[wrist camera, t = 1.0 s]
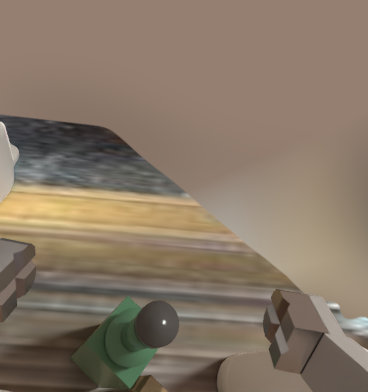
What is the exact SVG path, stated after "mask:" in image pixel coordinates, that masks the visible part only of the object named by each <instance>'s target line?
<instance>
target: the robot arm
mask: <svg viewBox="0 0 368 392" xmlns="http://www.w3.org/2000/svg"><path fill="white" fill-rule="evenodd" d="M18 158H19V151H18V149H17V148H16V147H15V146H13V145H12V144H10V143H9V139H8V136H7V132H6V128H5V126H4V124H3V123H2V122H0V202H1V201H2V200H3V199H4V198H5V197H6V196H7V195H8V194H9V192H10V190H11V188H12V186H13V182H14V165H15V164H16V162H17V160H18ZM34 256H35V246H34V245H32V244H29V243H24V242H19V241H14V240H10V239H5V238H0V322H4V321H5V320H6V318H7V317H8V316H9V315H10V313H11V312H12V311H13V310H14V308H15V307H16V306H17V298H20V297H22V296H24V295H26V293H27V292H28V291H29V289H30V288H31V286H32V284H33V282H34V279H35V274H36V265H35V264H34V263H33V262H32V260H31V259H32V258H33V257H34ZM271 299H272V303H273V304H272V305H270V306H268V307H267V308H266V311H265V314H264V320H263V328H264V333H265V337H266V338H267V339H268V340H269V341H270V342H271V345H270V347H269V352H270V356H271V359H272V363H273V367H274V369H276V370H281V371H286V372H291V373H296V374H301V377H302V378H303V380H304V381H305V382H306V384H307V385H308V386H309V388H310V389H311V390H312V391H313V392H368V352H367V351H366V350H365V349H364V348H362V347H361V346H360V345H359V344H357V343H356V342H355V341H354V340H353V339H351V338H348V337H346V336H345V335H344V333H343V331H342V329H341V328H340V326H339V324H338V323H337V321H336V319H335V317H334V316H333V314H332V312H331V311H330V309H329V307H328V305H327V304H326V302H325V300H324V299H323V298H322V297H321V296H317V295H311V294H302V293H296V292H291V291H285V290H279V289H276V290H275V291H274V292H273V294H272V296H271ZM0 392H12V391H6V390H0Z"/></svg>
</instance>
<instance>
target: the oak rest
mask: <svg viewBox="0 0 368 392" xmlns="http://www.w3.org/2000/svg"><path fill="white" fill-rule="evenodd" d="M129 392H168V391H167V390H166V389H165V388H164V387H163V386H162V385H161V384H160V383H159V382H158V381H157V380H156V379H155V378H154V377H153V376H152V375H147V376H140V377H139V378H138V380H137V381H136V382H135V384H134V385H133V387H132V388H131V390H130V391H129Z"/></svg>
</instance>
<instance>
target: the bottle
mask: <svg viewBox="0 0 368 392" xmlns="http://www.w3.org/2000/svg"><path fill="white" fill-rule="evenodd" d="M362 348H363V347H362ZM364 349H365V348H364ZM365 350H366V351H367V352H368V350H367V349H365ZM217 389H218V392H313V391H312V390H311V389H310V388H309V386H308V385H307V384H306V382H305V381H304V380H303V378H302V377H301V374H296V373H291V372H286V371H281V370H276V369H274V367H273V363H272V359H271V356H270V352H269V350H263V351H256V352H250V353H239V354H236V355H232V356H230V357H228V358H226V359H225V360H224V362H223V363H222V364H221V366H220V368H219V371H218V374H217Z"/></svg>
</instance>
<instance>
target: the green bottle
mask: <svg viewBox="0 0 368 392" xmlns="http://www.w3.org/2000/svg"><path fill="white" fill-rule="evenodd" d="M178 328H179V320H178V316H177V313H176V311H175V310H174V308H173V307H172V306H171V305H170V304H168V303H166V302H164V301H153V302H151V303H149V304H147V305H146V306H145V307H143V308H142V309H141V308H140V307H139V306H138V305H137V304H136V303H135V302H134V301H133V300H132V299H131V298H130V297H129V296H127V297H126V298H125V299H124V300H123V301H122V303H121V304H120V305H119V306H118V307H117V308H116V309H115V310H114V311H113V312H112V313H111V314H110V315H109V316H108V317H107V318H106V319H105V320H104V321H103V322H102V323H101V324H100V325H99V326H98V327H97V329H96V330H95V331H94V332H93V333H92V334H91V335H90V336H89V337H88V339H87V340H86V341H85V342H84V343H83V344H82V345H81V346H80V347H79V349H78V350H77V351H76V352H75V353H74V354H73V355H72V356H71V357H70V359H71V360H72V361H73V362H74V363H75V364H76V365H77V366H78V367H79V368H80V369H81V370H82V371H83V372H84V373H85V374H86V375H87V376H88V377H89V378H90V379H91V380H92V381H93V382H94V383H95V384H96V385H97V386H98V387H99V388H119V389H131V387H132V386H133V384H134V383H135V381H136V380H137V379H138V377H139V376H140V374H141V373H142V371H143V370H144V368H145V367H146V365H147V364H148V363H149V361H150V360H151V358H152V357H153V355H154V354H155V352H156V351H157V349H158V348H160V347H163V346H166V345H168V344H169V343H171V342H172V341H173V340H174V338H175V337H176V335H177V332H178Z"/></svg>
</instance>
